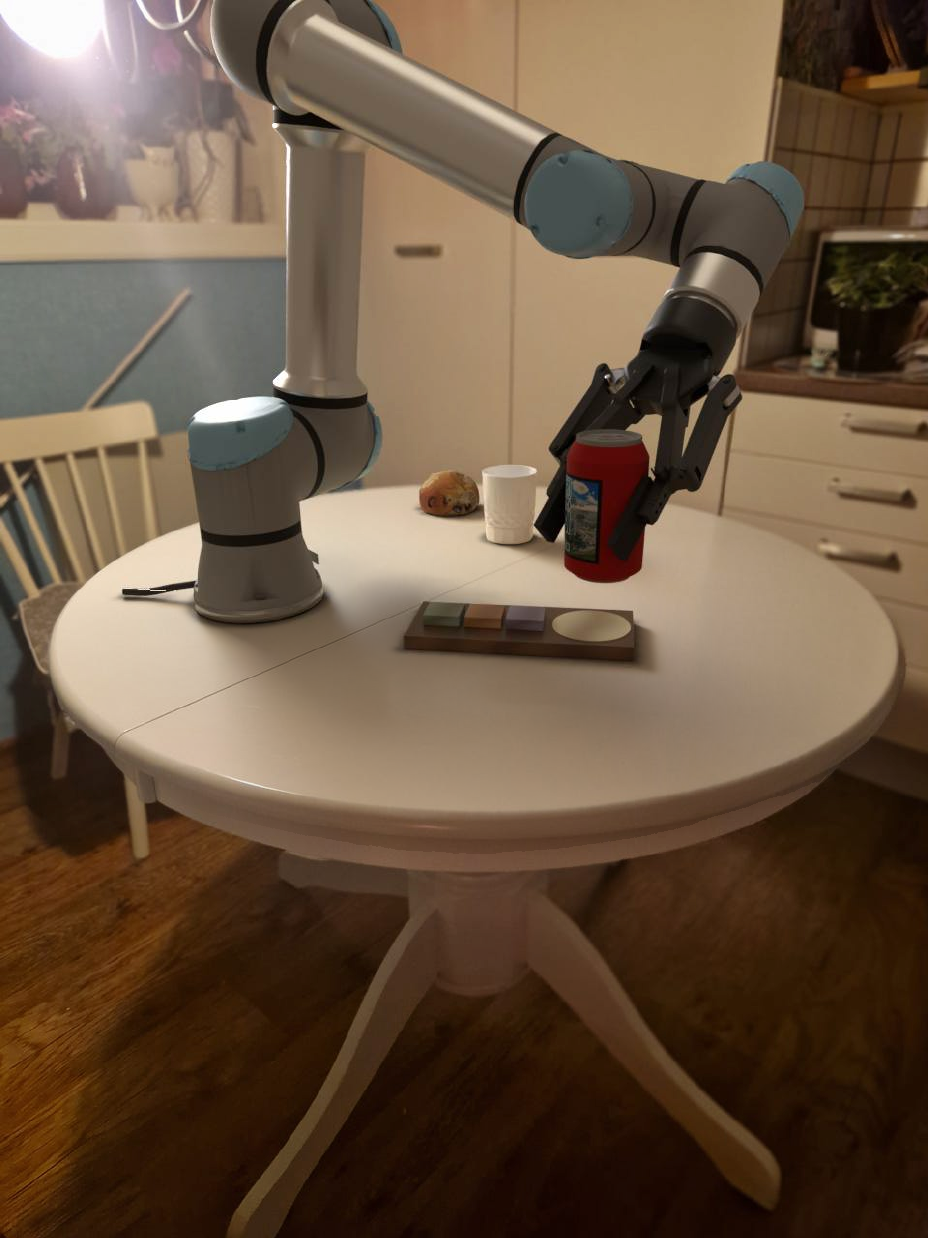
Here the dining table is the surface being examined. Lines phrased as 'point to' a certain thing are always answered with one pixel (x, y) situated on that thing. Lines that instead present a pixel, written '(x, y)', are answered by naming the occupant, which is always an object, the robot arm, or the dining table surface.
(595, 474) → the beverage can
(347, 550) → the dining table surface
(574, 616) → the paint palette tray
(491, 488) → the white cup
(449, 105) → the robot arm
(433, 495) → the bread roll
